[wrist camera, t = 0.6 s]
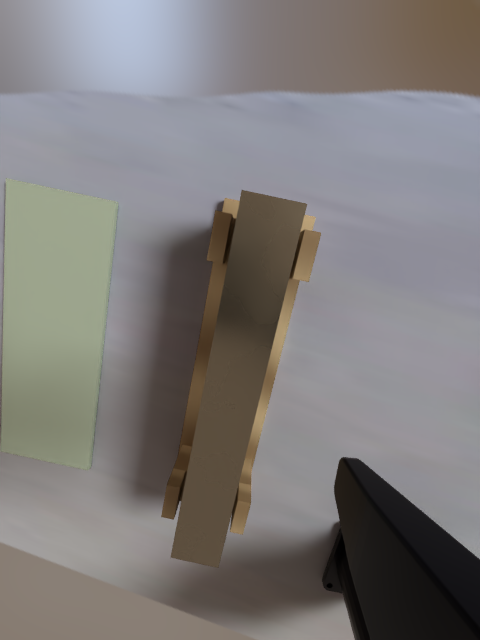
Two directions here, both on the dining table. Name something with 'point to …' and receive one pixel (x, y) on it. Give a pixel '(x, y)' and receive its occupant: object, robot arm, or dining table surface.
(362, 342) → the dining table surface
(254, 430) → the rack
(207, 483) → the rail
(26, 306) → the mat
